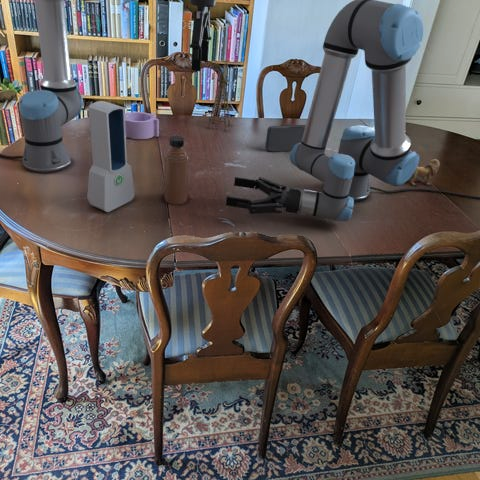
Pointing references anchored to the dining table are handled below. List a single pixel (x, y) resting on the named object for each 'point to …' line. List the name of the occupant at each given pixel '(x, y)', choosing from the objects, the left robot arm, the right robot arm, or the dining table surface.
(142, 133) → the clip
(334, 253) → the dining table surface
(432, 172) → the lion figurine
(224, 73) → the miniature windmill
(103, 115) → the electronic device
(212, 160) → the dining table surface
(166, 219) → the dining table surface
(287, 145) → the handheld gaming console
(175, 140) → the cap
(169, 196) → the bottle
